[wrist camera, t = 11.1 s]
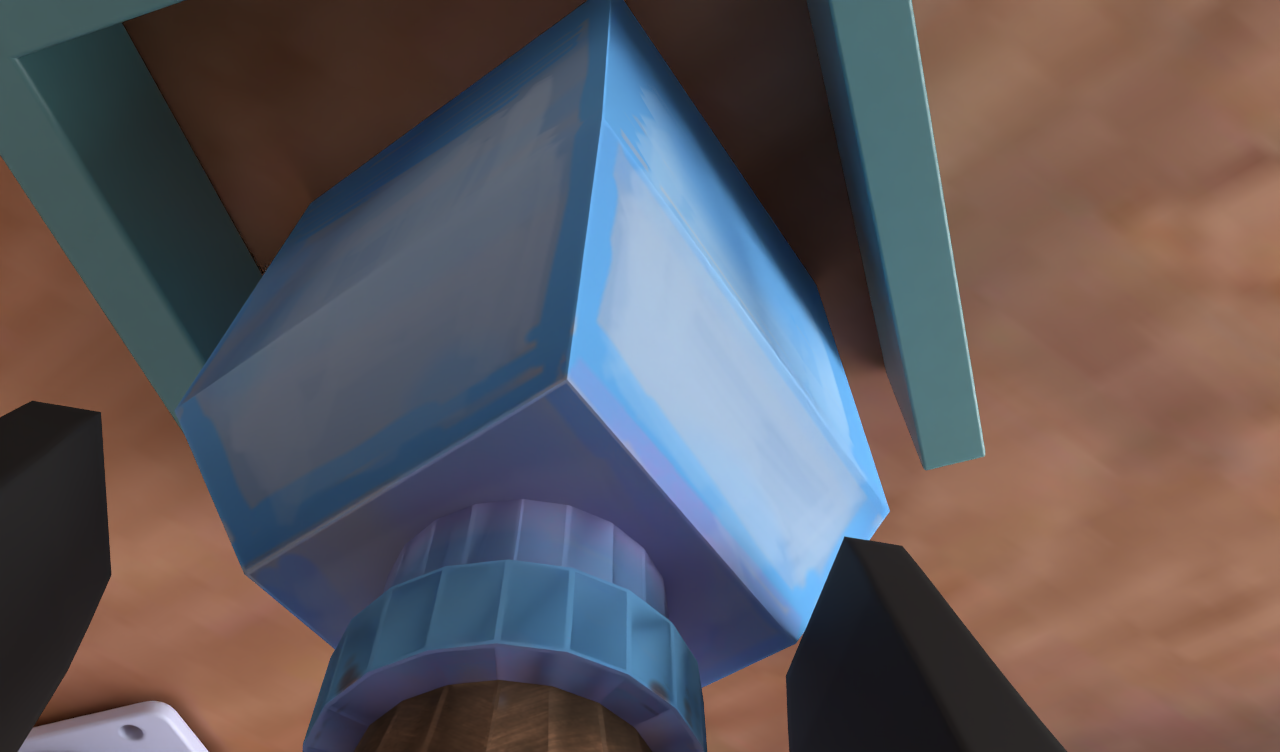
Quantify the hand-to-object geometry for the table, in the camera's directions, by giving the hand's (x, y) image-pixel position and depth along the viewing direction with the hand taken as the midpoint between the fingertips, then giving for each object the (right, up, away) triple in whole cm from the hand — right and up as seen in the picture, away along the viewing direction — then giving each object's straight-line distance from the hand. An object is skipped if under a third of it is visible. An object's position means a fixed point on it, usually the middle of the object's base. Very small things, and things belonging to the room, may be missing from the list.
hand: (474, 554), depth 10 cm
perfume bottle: (0, +4, +8) cm, 9 cm away
